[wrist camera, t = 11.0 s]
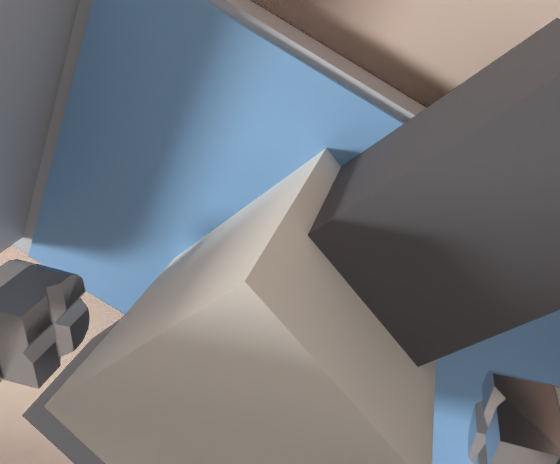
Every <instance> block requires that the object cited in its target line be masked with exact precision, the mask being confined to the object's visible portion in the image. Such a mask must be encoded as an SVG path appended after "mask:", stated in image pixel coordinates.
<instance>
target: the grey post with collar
mask: <svg viewBox="0 0 560 464" xmlns="http://www.w3.org/2000/svg"><path fill="white" fill-rule="evenodd" d="M558 310H560V19H559V18H556V19H555V20H553V21H552V22H550V23H549V24H547V25H546V26H545V27H543V28H542V29H540V30H539V31H537V32H536V33H534V34H533V35H531V36H530V37H529V38H527V39H526V40H524V41H523V42H521V43H520V44H518V45H517V46H516V47H514V48H513V49H511V50H510V51H508V52H507V53H505V54H504V55H502V56H501V57H500V58H498V59H497V60H495V61H494V62H492V63H491V64H489V65H488V66H487V67H485V68H484V69H482V70H481V71H479V72H478V73H476V74H475V75H474V76H472V77H471V78H469V79H468V80H466V81H465V82H463V83H462V84H460V85H459V86H458V87H456V88H455V89H453V90H452V91H450V92H449V93H447V94H446V95H445V96H443V97H442V98H440V99H439V100H437V101H436V102H434V103H433V104H431V105H430V106H429V107H427V108H426V109H424V110H423V111H421V112H420V113H418V114H417V115H416V116H414V117H413V118H411V119H410V120H408V121H407V122H405V123H404V124H403V125H401V126H400V127H398V128H397V129H395V130H394V131H392V132H391V133H389V134H388V135H387V136H385V137H384V138H382V139H381V140H379V141H378V142H376V143H375V144H374V145H372V146H371V147H369V148H368V149H366V150H365V151H363V152H362V153H360V154H359V155H358V156H356V157H355V158H353V159H352V160H350V161H349V162H347V163H346V164H345V165H343V166H342V167H341V166H340V165H339V164H338V162H337V161H336V160H335V158H334V157H333V156H332V155H331V153H330V152H329V151H328V150H327V148H325V149H324V150H323V151H321V152H320V153H319V154H317V155H316V156H314V157H313V158H312V159H310V160H309V161H308V162H306V163H305V164H303V165H302V166H301V167H299V168H298V169H297V170H295V171H294V172H292V173H291V174H290V175H288V176H287V177H286V178H284V179H283V180H281V181H280V182H279V183H277V184H276V185H275V186H273V187H272V188H270V189H269V190H268V191H266V192H265V193H264V194H262V195H261V196H259V197H258V198H257V199H255V200H254V201H253V202H251V203H250V204H248V205H247V206H246V207H244V208H243V209H242V210H240V211H239V212H237V213H236V214H235V215H233V216H232V217H231V218H229V219H228V220H226V221H225V222H224V223H222V224H221V225H220V226H218V227H217V228H215V229H214V230H213V231H211V232H210V233H209V234H207V235H206V236H204V237H203V238H202V239H200V240H199V241H198V242H196V243H195V244H193V245H192V246H191V247H189V248H188V249H187V250H185V251H184V252H182V253H181V254H180V255H178V256H177V257H176V258H174V259H173V260H172V262H171V263H170V264H169V265H168V266H167V267H166V268H165V270H164V271H163V272H162V273H161V274H160V275H159V276H158V277H157V279H156V280H155V281H154V282H153V283H152V284H151V285H150V287H149V288H148V289H147V290H146V291H145V292H144V293H143V294H142V296H141V297H140V298H139V299H138V300H137V301H136V302H135V304H134V305H133V306H132V307H131V308H130V309H129V310H128V311H127V313H126V314H125V315H124V316H123V317H122V318H121V319H120V320H118V321H117V322H116V323H114V324H113V325H111V326H110V327H108V328H107V329H105V330H104V331H103V332H101V333H100V334H98V335H97V336H95V337H94V338H92V339H91V340H90V342H89V343H88V344H87V345H86V346H85V347H84V348H83V349H82V350H81V351H80V353H79V354H78V355H77V356H76V357H75V358H74V359H73V360H72V361H71V362H70V364H69V365H68V366H67V367H66V368H65V369H64V370H63V371H62V372H61V373H60V374H59V376H58V377H57V378H56V379H55V380H54V381H53V382H52V383H51V384H50V385H49V387H48V388H47V389H46V390H45V391H44V392H43V393H42V394H41V395H40V396H39V398H38V399H37V400H36V401H35V402H34V403H33V404H32V405H31V406H30V407H29V408H28V410H27V411H26V412H25V413H24V414H23V415H22V416H23V417H24V418H25V419H27V420H28V421H29V422H30V423H31V424H32V425H33V426H34V427H35V428H36V429H37V430H39V431H40V432H41V433H42V434H43V435H44V436H45V437H46V438H47V439H48V440H49V441H51V442H52V443H53V444H54V445H55V446H56V447H57V448H58V449H59V450H60V451H61V452H63V453H64V454H65V455H66V456H67V457H68V458H69V459H70V460H71V461H72V462H74V463H75V464H432V455H433V425H434V394H435V364H436V360H437V359H439V358H442V357H444V356H447V355H449V354H451V353H454V352H456V351H459V350H461V349H464V348H466V347H469V346H471V345H474V344H476V343H479V342H481V341H484V340H486V339H489V338H491V337H494V336H496V335H499V334H501V333H503V332H506V331H508V330H511V329H513V328H516V327H518V326H521V325H523V324H526V323H528V322H531V321H533V320H536V319H538V318H541V317H543V316H546V315H548V314H551V313H553V312H555V311H558Z"/></svg>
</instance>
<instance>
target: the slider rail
mask: <svg viewBox="0 0 560 464" xmlns="http://www.w3.org/2000/svg"><path fill="white" fill-rule="evenodd" d="M424 109H426V107H424V106H423V105H421V104H420V103H418V102H416V101H415V100H413V99H411V98H410V97H408V96H406V95H405V94H403V93H402V92H400V91H398V90H397V89H395V88H393V87H392V86H390V85H388V84H387V83H385V82H383V81H382V80H380V79H379V78H377V77H375V76H374V75H372V74H370V73H369V72H367V71H365V70H364V69H362V68H361V67H359V66H357V65H356V64H354V63H352V62H351V61H349V60H347V59H346V58H344V57H342V56H341V55H339V54H338V53H336V52H334V51H333V50H331V49H329V48H328V47H326V46H324V45H323V44H321V43H320V42H318V41H316V40H315V39H313V38H311V37H310V36H308V35H306V34H305V33H303V32H301V31H300V30H298V29H297V28H295V27H293V26H292V25H290V24H288V23H287V22H285V21H283V20H282V19H280V18H279V17H277V16H275V15H274V14H272V13H270V12H269V11H267V10H265V9H264V8H262V7H260V6H259V5H257V4H256V3H254V2H252V1H251V0H0V253H1V252H2V251H4V250H5V249H7V248H8V247H10V246H11V245H12V246H14V247H16V248H17V249H19V250H21V251H22V252H24V253H26V254H27V255H28V256H29V257H31V258H32V259H34V260H36V261H37V262H39V263H41V264H42V265H44V266H47V267H51V268H55V269H59V270H62V271H66V272H70V273H74V274H77V275H79V276H80V277H82V278H83V282H84V287H85V291H87V292H89V293H90V294H92V295H94V296H95V297H97V298H99V299H100V300H102V301H104V302H105V303H107V304H109V305H110V306H112V307H114V308H115V309H117V310H119V311H120V312H122V313H124V314H126V313H127V311H128V310H129V309H130V308H131V307H132V306H133V305H134V304H135V302H136V301H137V300H138V299H139V298H140V297H141V296H142V294H143V293H144V292H145V291H146V290H147V289H148V288H149V287H150V285H151V284H152V283H153V282H154V281H155V280H156V279H157V277H158V276H159V275H160V274H161V273H162V272H163V271H164V270H165V268H166V267H167V266H168V265H169V264H170V263H171V262H172V260H173V259H174V258H176V257H177V256H178V255H180V254H181V253H182V252H184V251H185V250H187V249H188V248H189V247H191V246H192V245H193V244H195V243H196V242H198V241H199V240H200V239H202V238H203V237H204V236H206V235H207V234H209V233H210V232H211V231H213V230H214V229H215V228H217V227H218V226H220V225H221V224H222V223H224V222H225V221H226V220H228V219H229V218H231V217H232V216H233V215H235V214H236V213H237V212H239V211H240V210H242V209H243V208H244V207H246V206H247V205H248V204H250V203H251V202H253V201H254V200H255V199H257V198H258V197H259V196H261V195H262V194H264V193H265V192H266V191H268V190H269V189H270V188H272V187H273V186H275V185H276V184H277V183H279V182H280V181H281V180H283V179H284V178H286V177H287V176H288V175H290V174H291V173H292V172H294V171H295V170H297V169H298V168H299V167H301V166H302V165H303V164H305V163H306V162H308V161H309V160H310V159H312V158H313V157H314V156H316V155H317V154H319V153H320V152H321V151H323V150H324V149H325V148H327V150H328V151H329V152H330V153H331V155H332V156H333V157H334V158H335V160H336V161H337V162H338V164H339V165H340V166H341V167H342V166H343V165H345V164H346V163H347V162H349V161H350V160H352V159H353V158H355V157H356V156H358V155H359V154H360V153H362V152H363V151H365V150H366V149H368V148H369V147H371V146H372V145H374V144H375V143H376V142H378V141H379V140H381V139H382V138H384V137H385V136H387V135H388V134H389V133H391V132H392V131H394V130H395V129H397V128H398V127H400V126H401V125H403V124H404V123H405V122H407V121H408V120H410V119H411V118H413V117H414V116H416V115H417V114H418V113H420V112H421V111H423V110H424ZM489 370H491V371H496V372H500V373H504V374H509V375H513V376H518V377H522V378H527V379H531V380H535V381H540V382H544V383H548V384H550V383H552V384H556V385H560V310H558V311H555V312H553V313H551V314H548V315H546V316H543V317H541V318H538V319H536V320H533V321H531V322H528V323H526V324H523V325H521V326H518V327H516V328H513V329H511V330H508V331H506V332H503V333H501V334H499V335H496V336H494V337H491V338H489V339H486V340H484V341H481V342H479V343H476V344H474V345H471V346H469V347H466V348H464V349H461V350H459V351H456V352H454V353H451V354H449V355H447V356H444V357H442V358H439V359H437V360H436V364H435V394H434V425H433V455H432V464H473V463H472V461H471V460H470V459H469V457H468V432H469V427H470V421H471V417H472V413H473V410H474V407H475V404H476V403H478V402H480V401H482V400H483V397H482V384H483V381H484V379H485V376H486V374H487V373H488V371H489Z"/></svg>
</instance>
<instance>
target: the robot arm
mask: <svg viewBox="0 0 560 464" xmlns="http://www.w3.org/2000/svg"><path fill="white" fill-rule="evenodd" d="M84 293H85V287H84V282H83V278H82V277H80V276H79V275H77V274H74V273H70V272H66V271H62V270H59V269H55V268H51V267H47V266H43V265H39V264H34V263H30V262H26V261H22V260H18V259H16V260H9V261H8V262H6V263H5V264H3V265H2V266H0V382H1V381H2V380H1V379H3V380H7V381H11V382H15V383H19V384H22V385H26V386H30V387H34V388H38V389H39V388H40V387H41V386H42V385H43V384H44V383H45V382H46V380H47V379H48V378H49V377H50V376H51V375H52V374H53V373H54V372H55V371H56V370H57V369H58V368H59V367H60V357H61V356H63V355H66V354H68V353H70V352H73V351H74V350H75V349H76V348H77V347H78V346H79V345H80V344H81V342H82V341H83V339H84V337H85V335H86V332H87V330H88V326H89V311H88V308H87V306H86V305H85V304H84V302H83V301H82V300H81V297H82V295H83V294H84ZM482 397H483V400H482V401H480V402H478V403H476V404H475V407H474V410H473V413H472V417H471V421H470V427H469V432H468V457H469V459H470V460H471V461H472V463H473V464H560V385H556V384H552V383H550V384H548V383H544V382H540V381H535V380H531V379H527V378H522V377H518V376H513V375H509V374H504V373H500V372H496V371H491V370H489V371H488V373H487V374H486V376H485V379H484V381H483V384H482Z"/></svg>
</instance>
